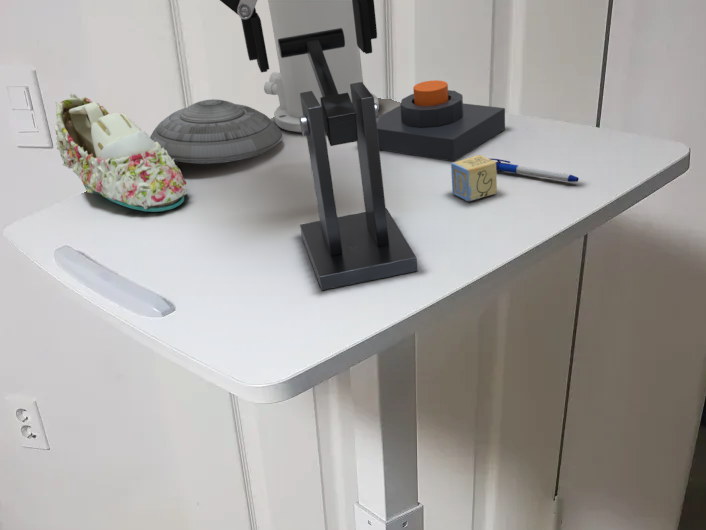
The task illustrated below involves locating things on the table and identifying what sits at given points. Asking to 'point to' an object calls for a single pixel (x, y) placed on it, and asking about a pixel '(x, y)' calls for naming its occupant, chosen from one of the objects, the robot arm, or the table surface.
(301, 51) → the lever
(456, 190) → the alphabet block
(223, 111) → the flying saucer
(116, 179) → the ballet flat
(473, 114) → the control block
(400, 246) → the bracket
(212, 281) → the table surface
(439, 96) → the button
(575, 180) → the ballpoint pen
